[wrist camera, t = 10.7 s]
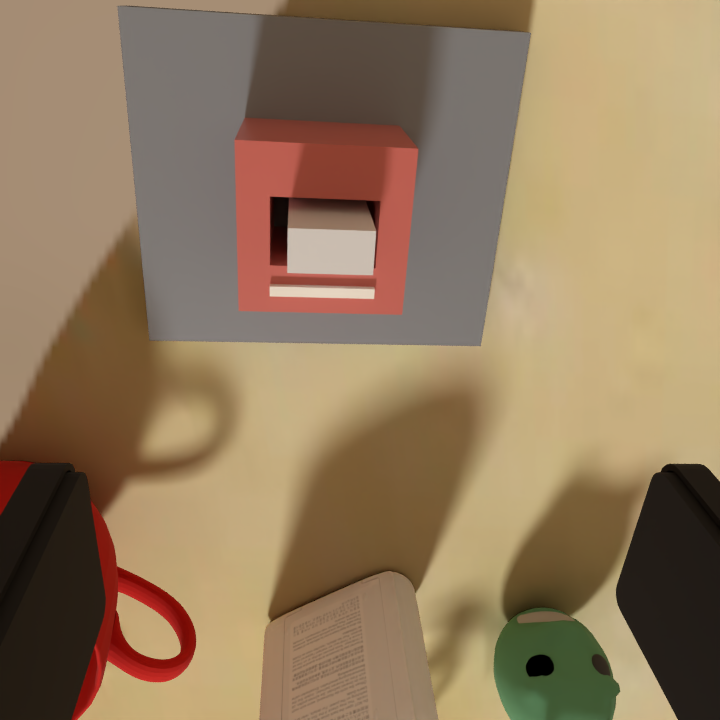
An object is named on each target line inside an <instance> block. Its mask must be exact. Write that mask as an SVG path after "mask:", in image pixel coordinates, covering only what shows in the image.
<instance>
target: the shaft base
mask: <svg viewBox="0 0 720 720" xmlns="http://www.w3.org/2000/svg"><path fill="white" fill-rule="evenodd" d="M118 16H119V27H120V36H121V47H122V58H123V69H124V79H125V89H126V100H127V111H128V121H129V130H130V131H129V132H130V142H131V152H132V163H133V173H134V184H135V194H136V205H137V215H138V226H139V236H140V247H141V257H142V267H143V278H144V288H145V299H146V309H147V320H148V330H149V340H150V341H209V342H269V343H328V344H387V345H446V346H481V341H482V335H483V328H484V322H485V316H486V310H487V303H488V297H489V291H490V285H491V279H492V272H493V266H494V260H495V254H496V247H497V241H498V235H499V229H500V222H501V216H502V210H503V204H504V197H505V191H506V185H507V179H508V172H509V166H510V160H511V154H512V147H513V141H514V135H515V129H516V122H517V116H518V110H519V104H520V97H521V91H522V85H523V79H524V73H525V66H526V60H527V54H528V48H529V41H530V35H531V33H528V32H521V31H507V30H491V29H476V28H461V27H445V26H430V25H415V24H399V23H384V22H369V21H353V20H338V19H323V18H307V17H292V16H277V15H261V14H246V13H230V12H215V11H200V10H185V9H168V8H154V7H138V6H118ZM244 118H261V119H280V120H300V121H319V122H338V123H358V124H377V125H397V126H400V127H401V128H402V129H403V130H404V132H405V133H406V134H407V135H408V137H409V138H410V139H411V140H412V141H413V143H414V144H415V145H416V146H417V148H418V159H417V169H416V179H415V189H414V199H413V210H412V220H411V230H410V240H409V250H408V260H407V270H406V281H405V291H404V301H403V311H402V315H390V314H346V313H302V312H259V311H239V304H238V263H237V223H236V182H235V142H234V140H235V138H236V135H237V133H238V131H239V129H240V127H241V124H242V122H243V120H244ZM274 226H280V227H288V250H287V273H305V274H341V275H373V269H374V255H375V241H376V229H375V226H374V223H373V220H372V217H371V214H370V211H369V209H368V206H367V203H366V200H345V199H320V198H295V197H274Z"/></svg>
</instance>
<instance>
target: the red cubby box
mask: <svg viewBox="0 0 720 720" xmlns="http://www.w3.org/2000/svg"><path fill="white" fill-rule="evenodd" d="M234 142H235V182H236V223H237V263H238V304H239V311H259V312H302V313H346V314H390V315H402V311H403V301H404V291H405V281H406V270H407V260H408V250H409V240H410V230H411V220H412V210H413V199H414V189H415V179H416V169H417V159H418V148H417V146H416V145H415V144H414V143H413V141H412V140H411V139H410V138H409V137H408V135H407V134H406V133H405V132H404V130H403V129H402V128H401V127H400V126H397V125H377V124H358V123H338V122H319V121H300V120H280V119H261V118H244V120H243V122H242V124H241V127H240V129H239V131H238V133H237V135H236V138H235V140H234ZM274 197H295V198H320V199H345V200H366V203H367V206H368V209H369V211H370V214H371V217H372V220H373V223H374V226H375V229H376V241H375V255H374V269H373V275H341V274H305V273H287V250H288V227H280V226H274Z"/></svg>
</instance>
